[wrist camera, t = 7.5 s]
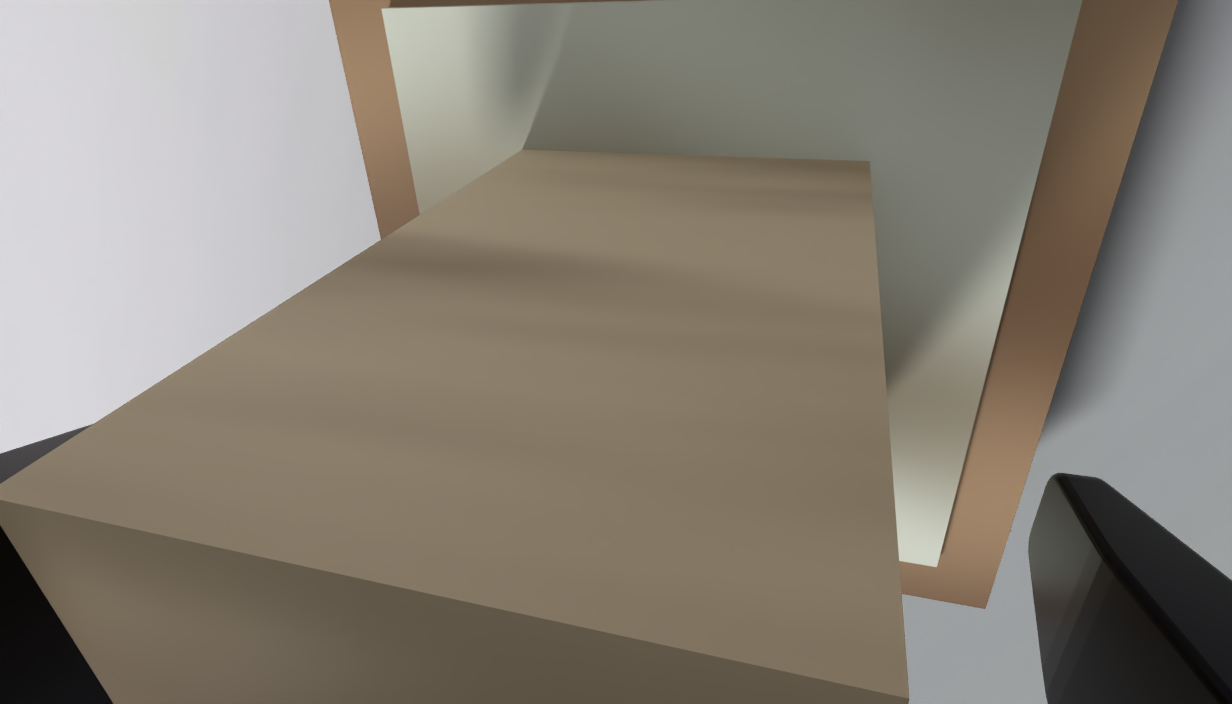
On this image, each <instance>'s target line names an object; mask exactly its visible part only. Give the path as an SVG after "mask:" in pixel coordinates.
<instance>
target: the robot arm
mask: <svg viewBox="0 0 1232 704" xmlns="http://www.w3.org/2000/svg"><path fill="white" fill-rule="evenodd" d="M92 425H93V424H92ZM90 426H91V425H89V426H86V427H82V428H79V429H76V430H73V431H70V432H67V433H64V434H60V435H57V436H54V437H51V438H48V439H45V440H42V441H38V442H35V443H32V444H29V445H26V446H23V447H20V448H16V449H13V450H10V451H7V452H4V453H1V454H0V484H1V483H2V482H4V481H5V480H7V479H9V478H10V477H12V476H13V475H15V474H16V473H18V472H19V471H21V470H23V469H24V468H26V467H27V466H29V465H30V464H32V463H34V462H35V461H37V460H38V459H40V458H41V457H43V456H44V455H46V454H48V453H49V452H51V451H52V450H54V449H55V448H57V447H59V446H60V445H62V444H63V443H65V442H66V441H68V440H69V439H71V438H73V437H74V436H76V435H77V434H79V433H80V432H82V431H83V430H85V429H87V428H88V427H90ZM1028 554H1029V563H1030V572H1031V580H1032V588H1033V597H1034V605H1035V613H1036V622H1037V630H1038V638H1039V647H1040V655H1041V663H1042V672H1043V678H1044V685H1045V692H1046V698H1047V702H1048V704H1232V580H1231V579H1229V578H1228V577H1227V576H1226V575H1224V574H1223V573H1222V572H1220V571H1219V570H1218V569H1217V568H1215V567H1214V566H1213V565H1211V564H1210V563H1209V562H1208V561H1206V560H1205V559H1204V558H1202V557H1201V556H1200V555H1199V554H1197V553H1196V552H1195V551H1193V550H1192V549H1191V548H1190V547H1188V546H1187V545H1186V544H1184V543H1183V542H1182V541H1181V540H1179V539H1178V538H1177V537H1175V536H1174V535H1173V534H1172V533H1170V532H1169V531H1168V530H1167V529H1165V528H1164V527H1163V526H1161V525H1160V524H1159V523H1158V522H1156V521H1155V520H1154V519H1152V518H1151V517H1150V516H1149V515H1147V514H1146V513H1145V512H1143V511H1142V510H1141V509H1140V508H1138V507H1137V506H1136V505H1134V504H1133V503H1132V502H1131V501H1129V500H1128V499H1127V498H1125V497H1124V496H1123V495H1122V494H1120V493H1119V492H1118V491H1116V490H1115V489H1114V488H1113V487H1111V486H1110V485H1109V484H1108V483H1106V482H1105V481H1103V480H1102V479H1099V478H1096V477H1089V476H1081V475H1073V474H1066V473H1057V474H1055V475H1053V476H1052V477H1051V478H1050V479H1049V481H1048V482H1047V485H1046V487H1045V490H1044V493H1043V496H1042V499H1041V502H1040V505H1039V508H1038V511H1037V514H1036V517H1035V520H1034V523H1033V526H1032V529H1031V532H1030V537H1029V545H1028ZM0 704H113V702H112V701H111V699H110V697H109V696H108V694H107V693H106V691H105V689H104V688H103V686H102V685H101V683H100V682H99V680H98V678H97V677H96V675H95V674H94V672H93V671H92V669H91V667H90V666H89V664H88V663H87V661H86V659H85V658H84V656H83V655H82V653H81V652H80V650H79V648H78V647H77V645H76V644H75V642H74V641H73V639H72V637H71V636H70V634H69V633H68V631H67V630H66V628H65V626H64V625H63V623H62V622H61V620H60V618H59V617H58V615H57V614H56V612H55V611H54V609H53V607H52V606H51V604H50V603H49V601H48V600H47V598H46V596H45V595H44V593H43V592H42V590H41V588H40V587H39V585H38V584H37V582H36V581H35V579H34V577H33V576H32V574H31V573H30V571H29V570H28V568H27V566H26V565H25V563H24V562H23V560H22V558H21V557H20V555H19V554H18V552H17V551H16V549H15V547H14V546H13V544H12V543H11V541H10V540H9V538H8V536H7V535H6V533H5V532H4V530H3V529H2V527H1V525H0Z"/></svg>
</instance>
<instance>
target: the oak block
mask: <svg viewBox="0 0 1232 704" xmlns="http://www.w3.org/2000/svg"><path fill="white" fill-rule="evenodd" d="M0 525H1V527H2V529H3V530H4V532H5V533H6V535H7V536H8V538H9V540H10V541H11V543H12V544H13V546H14V547H15V549H16V551H17V552H18V554H19V555H20V557H21V558H22V560H23V562H24V563H25V565H26V566H27V568H28V570H29V571H30V573H31V574H32V576H33V577H34V579H35V581H36V582H37V584H38V585H39V587H40V588H41V590H42V592H43V593H44V595H45V596H46V598H47V600H48V601H49V603H50V604H51V606H52V607H53V609H54V611H55V612H56V614H57V615H58V617H59V618H60V620H61V622H62V623H63V625H64V626H65V628H66V630H67V631H68V633H69V634H70V636H71V637H72V639H73V641H74V642H75V644H76V645H77V647H78V648H79V650H80V652H81V653H82V655H83V656H84V658H85V659H86V661H87V663H88V664H89V666H90V667H91V669H92V671H93V672H94V674H95V675H96V677H97V678H98V680H99V682H100V683H101V685H102V686H103V688H104V689H105V691H106V693H107V694H108V696H109V697H110V699H111V701H112V702H113V704H908V702H909V687H908V674H907V660H906V647H905V633H904V619H903V606H902V592H901V579H900V565H899V552H898V538H897V525H896V511H895V497H894V484H893V470H892V457H891V443H890V430H889V416H888V403H887V389H886V375H885V362H884V348H883V335H882V321H881V308H880V294H879V281H878V267H877V253H876V240H875V226H874V213H873V199H872V186H871V172H870V161H848V160H818V159H788V158H758V157H729V156H699V155H669V154H639V153H609V152H579V151H550V150H520V151H519V152H517V153H516V154H514V155H513V156H511V157H510V158H508V159H506V160H505V161H503V162H502V163H500V164H499V165H497V166H496V167H494V168H492V169H491V170H489V171H488V172H486V173H485V174H483V175H481V176H480V177H478V178H477V179H475V180H474V181H472V182H471V183H469V184H467V185H466V186H464V187H463V188H461V189H460V190H458V191H456V192H455V193H453V194H452V195H450V196H449V197H447V198H446V199H444V200H442V201H441V202H439V203H438V204H436V205H435V206H433V207H432V208H430V209H428V210H427V211H425V212H424V213H422V214H421V215H419V216H417V217H416V218H414V219H413V220H411V221H410V222H408V223H407V224H405V225H403V226H402V227H400V228H399V229H397V230H396V231H394V232H393V233H391V234H389V235H388V236H386V237H385V238H383V239H382V240H380V241H378V242H377V243H375V244H374V245H372V246H371V247H369V248H368V249H366V250H364V251H363V252H361V253H360V254H358V255H357V256H355V257H353V258H352V259H350V260H349V261H347V262H346V263H344V264H343V265H341V266H339V267H338V268H336V269H335V270H333V271H332V272H330V273H329V274H327V275H325V276H324V277H322V278H321V279H319V280H318V281H316V282H314V283H313V284H311V285H310V286H308V287H307V288H305V289H304V290H302V291H300V292H299V293H297V294H296V295H294V296H293V297H291V298H289V299H288V300H286V301H285V302H283V303H282V304H280V305H279V306H277V307H275V308H274V309H272V310H271V311H269V312H268V313H266V314H265V315H263V316H261V317H260V318H258V319H257V320H255V321H254V322H252V323H250V324H249V325H247V326H246V327H244V328H243V329H241V330H240V331H238V332H236V333H235V334H233V335H232V336H230V337H229V338H227V339H226V340H224V341H222V342H221V343H219V344H218V345H216V346H215V347H213V348H211V349H210V350H208V351H207V352H205V353H204V354H202V355H201V356H199V357H197V358H196V359H194V360H193V361H191V362H190V363H188V364H186V365H185V366H183V367H182V368H180V369H179V370H177V371H176V372H174V373H172V374H171V375H169V376H168V377H166V378H165V379H163V380H162V381H160V382H158V383H157V384H155V385H154V386H152V387H151V388H149V389H147V390H146V391H144V392H143V393H141V394H140V395H138V396H137V397H135V398H133V399H132V400H130V401H129V402H127V403H126V404H124V405H122V406H121V407H119V408H118V409H116V410H115V411H113V412H112V413H110V414H108V415H107V416H105V417H104V418H102V419H101V420H99V421H98V422H96V423H94V424H93V425H91V426H90V427H88V428H87V429H85V430H83V431H82V432H80V433H79V434H77V435H76V436H74V437H73V438H71V439H69V440H68V441H66V442H65V443H63V444H62V445H60V446H59V447H57V448H55V449H54V450H52V451H51V452H49V453H48V454H46V455H44V456H43V457H41V458H40V459H38V460H37V461H35V462H34V463H32V464H30V465H29V466H27V467H26V468H24V469H23V470H21V471H19V472H18V473H16V474H15V475H13V476H12V477H10V478H9V479H7V480H5V481H4V482H2V483H1V484H0Z"/></svg>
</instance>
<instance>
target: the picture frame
mask: <svg viewBox="0 0 1232 704" xmlns="http://www.w3.org/2000/svg"><path fill="white" fill-rule="evenodd" d="M329 3H330V7H331V12H332V17H333V21H334V26H335V30H336V35H337V39H338V44H339V49H340V53H341V58H342V62H343V67H344V72H345V76H346V81H347V85H348V90H349V94H350V99H351V104H352V108H353V113H354V117H355V122H356V127H357V131H358V136H359V140H360V145H361V149H362V154H363V159H364V163H365V168H366V172H367V177H368V181H369V186H370V191H371V195H372V200H373V204H374V209H375V214H376V218H377V223H378V227H379V232H380V236H381V240H382V239H383V238H385V237H386V236H388V235H389V234H391V233H393V232H394V231H396V230H397V229H399V228H400V227H402V226H403V225H405V224H407V223H408V222H410V221H411V220H413V219H414V218H416V217H417V216H419V215H421V214H422V213H424V212H425V211H427V210H428V209H430V208H432V207H433V206H435V205H436V204H438V203H439V202H441V201H442V200H444V199H446V198H447V197H449V196H450V195H452V194H453V193H455V192H456V191H458V190H460V189H461V188H463V187H464V186H466V185H467V184H469V183H471V182H472V181H474V180H475V179H477V178H478V177H480V176H481V175H483V174H485V173H486V172H488V171H489V170H491V169H492V168H494V167H496V166H497V165H499V164H500V163H502V162H503V161H505V160H506V159H508V158H510V157H511V156H513V155H514V154H516V153H517V152H519V151H520V150H550V151H579V152H609V153H639V154H669V155H699V156H729V157H758V158H788V159H818V160H848V161H870V172H871V186H872V199H873V213H874V226H875V240H876V253H877V267H878V281H879V294H880V308H881V321H882V335H883V348H884V362H885V375H886V389H887V403H888V416H889V430H890V443H891V457H892V470H893V484H894V497H895V511H896V525H897V538H898V552H899V565H900V579H901V592H902V594H906V595H911V596H917V597H922V598H928V599H933V600H939V601H944V602H950V603H955V604H961V605H966V606H972V607H978V608H983V609H985V608H986V605H987V602H988V599H989V596H990V593H991V589H992V586H993V583H994V580H995V577H996V574H997V571H998V567H999V564H1000V561H1001V558H1002V555H1003V552H1004V549H1005V545H1006V542H1007V539H1008V536H1009V533H1010V530H1011V526H1012V523H1013V520H1014V517H1015V514H1016V511H1017V508H1018V504H1019V501H1020V498H1021V495H1022V492H1023V489H1024V485H1025V482H1026V479H1027V476H1028V473H1029V470H1030V467H1031V463H1032V460H1033V457H1034V454H1035V451H1036V448H1037V445H1038V441H1039V438H1040V435H1041V432H1042V429H1043V426H1044V422H1045V419H1046V416H1047V413H1048V410H1049V407H1050V404H1051V400H1052V397H1053V394H1054V391H1055V388H1056V385H1057V381H1058V378H1059V375H1060V372H1061V369H1062V366H1063V363H1064V359H1065V356H1066V353H1067V350H1068V347H1069V344H1070V341H1071V337H1072V334H1073V331H1074V328H1075V325H1076V322H1077V318H1078V315H1079V312H1080V309H1081V306H1082V303H1083V300H1084V296H1085V293H1086V290H1087V287H1088V284H1089V281H1090V277H1091V274H1092V271H1093V268H1094V265H1095V262H1096V259H1097V255H1098V252H1099V249H1100V246H1101V243H1102V240H1103V237H1104V233H1105V230H1106V227H1107V224H1108V221H1109V218H1110V214H1111V211H1112V208H1113V205H1114V202H1115V199H1116V196H1117V192H1118V189H1119V186H1120V183H1121V180H1122V177H1123V173H1124V170H1125V167H1126V164H1127V161H1128V158H1129V155H1130V151H1131V148H1132V145H1133V142H1134V139H1135V136H1136V133H1137V129H1138V126H1139V123H1140V120H1141V117H1142V114H1143V110H1144V107H1145V104H1146V101H1147V98H1148V95H1149V92H1150V88H1151V85H1152V82H1153V79H1154V76H1155V73H1156V69H1157V66H1158V63H1159V60H1160V57H1161V54H1162V51H1163V47H1164V44H1165V41H1166V38H1167V35H1168V32H1169V29H1170V25H1171V22H1172V19H1173V16H1174V13H1175V10H1176V6H1177V3H1178V0H329Z"/></svg>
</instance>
